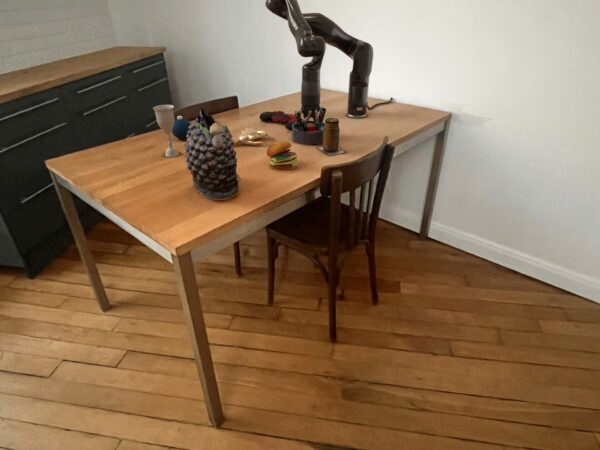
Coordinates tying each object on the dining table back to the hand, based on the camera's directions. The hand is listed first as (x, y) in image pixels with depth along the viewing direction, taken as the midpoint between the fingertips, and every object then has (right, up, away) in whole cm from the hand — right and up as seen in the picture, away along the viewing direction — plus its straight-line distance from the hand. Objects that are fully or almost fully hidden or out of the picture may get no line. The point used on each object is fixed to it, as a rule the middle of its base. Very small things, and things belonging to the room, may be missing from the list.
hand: (310, 133), depth 168 cm
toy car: (0, -1, 0) cm, 1 cm away
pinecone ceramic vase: (-31, -27, -38) cm, 56 cm away
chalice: (-53, -11, -13) cm, 56 cm away
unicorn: (-26, -3, -1) cm, 26 cm away
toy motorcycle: (-10, +9, +19) cm, 24 cm away
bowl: (0, -2, +1) cm, 2 cm away
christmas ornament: (-53, -2, +2) cm, 53 cm away
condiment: (+8, -9, -10) cm, 15 cm away
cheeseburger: (-10, -17, -22) cm, 30 cm away
